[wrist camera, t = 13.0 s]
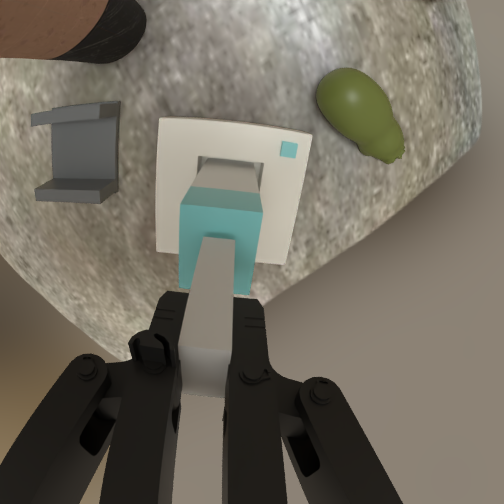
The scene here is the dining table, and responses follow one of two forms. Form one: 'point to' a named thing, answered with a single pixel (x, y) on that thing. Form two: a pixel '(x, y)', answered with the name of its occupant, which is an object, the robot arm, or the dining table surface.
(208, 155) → the port block
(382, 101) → the pear
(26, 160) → the dining table surface
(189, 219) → the plug
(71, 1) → the travel mug
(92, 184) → the holster
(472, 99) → the dining table surface
